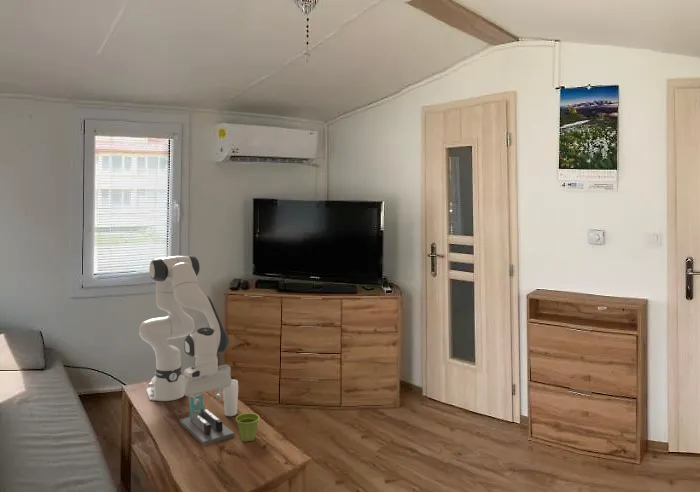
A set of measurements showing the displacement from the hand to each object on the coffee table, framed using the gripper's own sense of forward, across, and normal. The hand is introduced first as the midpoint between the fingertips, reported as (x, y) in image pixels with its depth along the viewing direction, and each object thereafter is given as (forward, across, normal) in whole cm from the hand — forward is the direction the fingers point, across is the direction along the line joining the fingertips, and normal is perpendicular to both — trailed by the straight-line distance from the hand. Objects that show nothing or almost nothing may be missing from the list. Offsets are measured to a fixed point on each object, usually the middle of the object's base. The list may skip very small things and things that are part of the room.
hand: (207, 401), depth 222 cm
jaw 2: (+11, -3, -2) cm, 12 cm away
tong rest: (+13, 0, -2) cm, 13 cm away
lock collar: (+11, 0, -12) cm, 16 cm away
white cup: (+13, -15, -11) cm, 22 cm away
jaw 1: (+11, +3, -2) cm, 12 cm away
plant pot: (+13, -10, +15) cm, 23 cm away
